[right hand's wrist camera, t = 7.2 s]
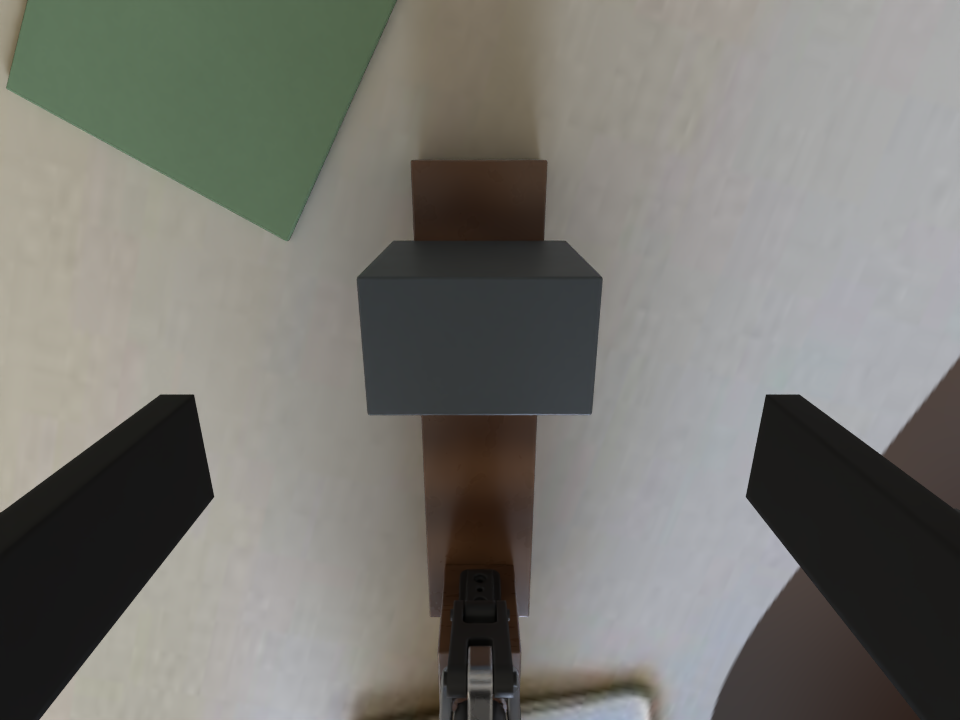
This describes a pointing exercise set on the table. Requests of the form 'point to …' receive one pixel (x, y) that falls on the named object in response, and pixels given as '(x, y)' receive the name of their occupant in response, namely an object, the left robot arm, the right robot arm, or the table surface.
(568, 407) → the slate block
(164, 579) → the table surface
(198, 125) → the green mat
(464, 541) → the base plank
